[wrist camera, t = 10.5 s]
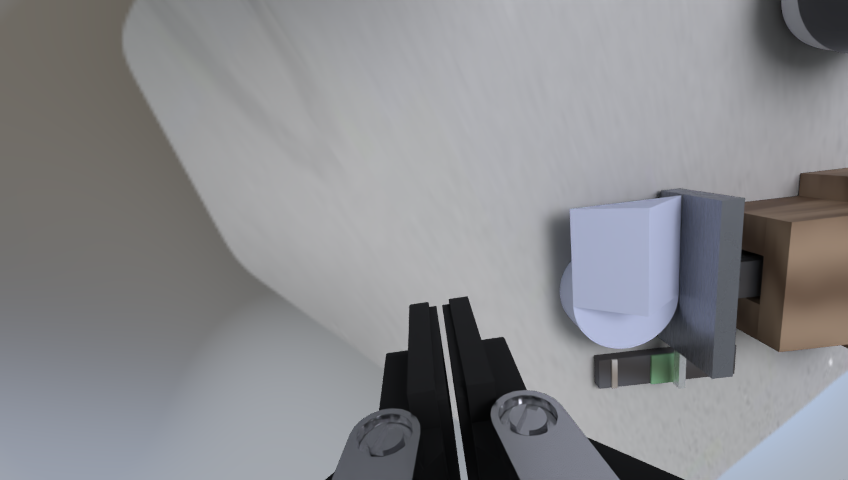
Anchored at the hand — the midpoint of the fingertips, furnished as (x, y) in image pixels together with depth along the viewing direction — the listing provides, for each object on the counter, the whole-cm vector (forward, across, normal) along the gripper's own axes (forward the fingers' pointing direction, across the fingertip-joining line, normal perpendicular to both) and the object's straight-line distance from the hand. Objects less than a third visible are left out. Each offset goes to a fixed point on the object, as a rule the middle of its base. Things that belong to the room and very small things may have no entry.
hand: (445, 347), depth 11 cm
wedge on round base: (+24, -16, +9) cm, 30 cm away
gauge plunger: (+23, -25, +11) cm, 36 cm away
